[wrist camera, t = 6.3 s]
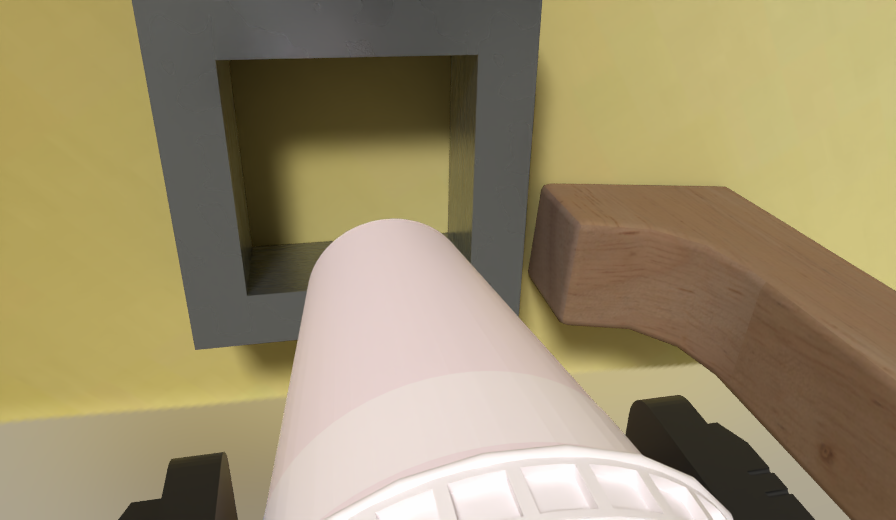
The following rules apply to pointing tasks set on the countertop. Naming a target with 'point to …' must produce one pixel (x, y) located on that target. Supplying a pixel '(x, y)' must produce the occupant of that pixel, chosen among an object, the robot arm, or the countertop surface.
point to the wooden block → (739, 317)
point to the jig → (330, 36)
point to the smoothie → (446, 403)
